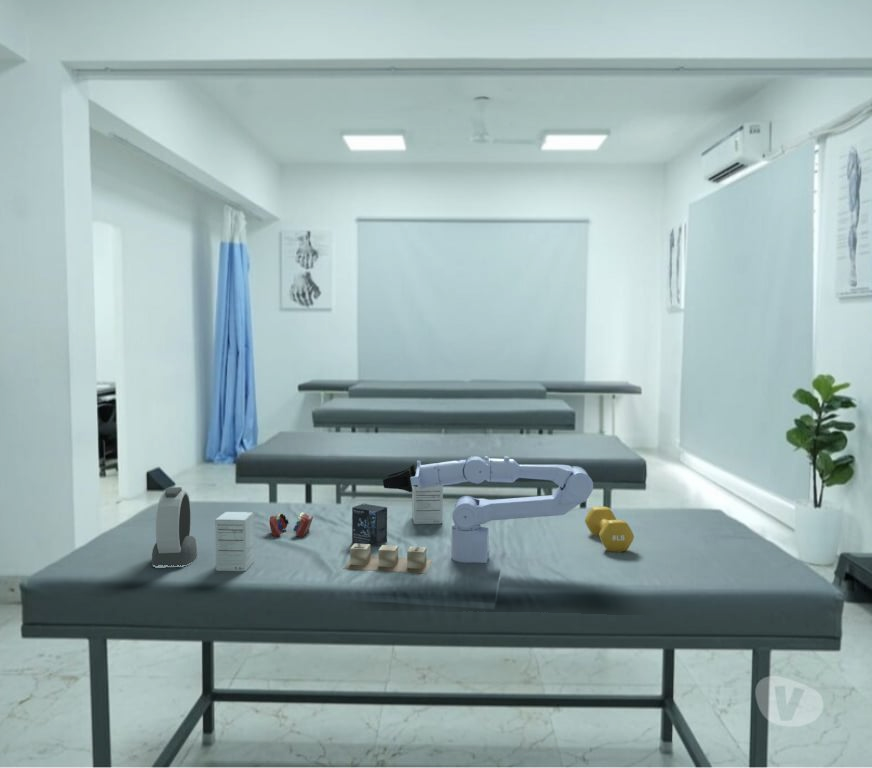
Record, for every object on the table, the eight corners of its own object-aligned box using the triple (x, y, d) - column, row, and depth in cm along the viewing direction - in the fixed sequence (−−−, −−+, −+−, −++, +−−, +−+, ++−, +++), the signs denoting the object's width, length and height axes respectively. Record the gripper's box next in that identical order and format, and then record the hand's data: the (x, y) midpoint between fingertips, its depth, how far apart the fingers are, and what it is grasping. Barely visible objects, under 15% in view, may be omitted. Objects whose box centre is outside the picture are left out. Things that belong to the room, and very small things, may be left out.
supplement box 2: (411, 517, 212) (411, 469, 211) (439, 516, 213) (439, 469, 212) (413, 524, 203) (413, 475, 202) (443, 524, 204) (443, 475, 203)
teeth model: (274, 508, 197) (315, 509, 197) (274, 529, 198) (315, 530, 198) (266, 516, 189) (308, 517, 189) (266, 538, 190) (308, 539, 189)
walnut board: (432, 563, 168) (432, 559, 167) (425, 577, 158) (425, 573, 158) (354, 559, 170) (354, 555, 170) (342, 572, 161) (342, 568, 161)
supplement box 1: (225, 561, 168) (224, 511, 168) (255, 561, 168) (254, 511, 167) (215, 571, 161) (214, 519, 160) (245, 571, 161) (245, 519, 160)
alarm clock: (189, 569, 162) (188, 494, 161) (144, 571, 160) (143, 495, 159) (201, 549, 178) (200, 480, 177) (161, 551, 176) (159, 481, 175)
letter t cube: (370, 560, 167) (370, 543, 166) (366, 565, 163) (366, 548, 163) (354, 559, 167) (354, 543, 167) (350, 564, 163) (350, 547, 163)
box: (351, 546, 182) (351, 507, 181) (363, 540, 187) (363, 502, 186) (375, 550, 178) (375, 511, 177) (387, 545, 183) (387, 506, 182)
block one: (426, 563, 165) (426, 546, 164) (423, 568, 161) (423, 551, 160) (410, 562, 165) (410, 545, 165) (407, 567, 161) (407, 550, 161)
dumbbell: (583, 533, 196) (583, 505, 195) (614, 533, 196) (614, 505, 196) (601, 553, 177) (601, 522, 176) (635, 553, 177) (636, 522, 177)
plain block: (398, 561, 166) (398, 545, 165) (394, 567, 162) (394, 550, 162) (382, 560, 166) (382, 544, 166) (378, 566, 162) (378, 549, 162)
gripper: (439, 455, 176) (388, 462, 177) (434, 461, 161) (378, 469, 163) (443, 482, 176) (392, 489, 177) (438, 490, 161) (382, 498, 163)
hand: (386, 481), depth 170 cm, fingers open, 7 cm apart
